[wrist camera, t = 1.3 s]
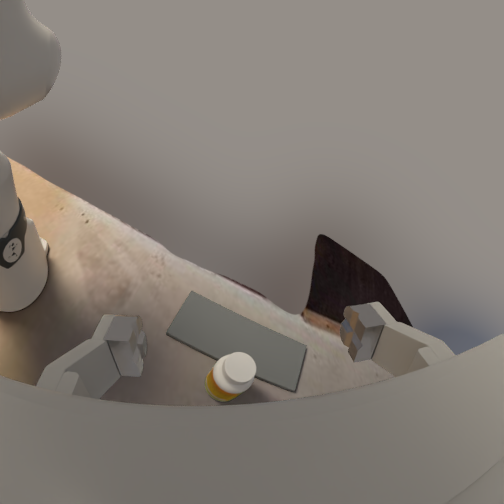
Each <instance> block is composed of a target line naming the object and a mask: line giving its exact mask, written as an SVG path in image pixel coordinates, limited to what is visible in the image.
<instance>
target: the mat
mask: <svg viewBox="0 0 504 504" xmlns="http://www.w3.org/2000/svg"><path fill="white" fill-rule="evenodd" d="M166 334H167V335H169V336H170V337H172V338H174V339H176V340H178V341H180V342H182V343H183V344H185V345H187V346H189V347H191V348H193V349H195V350H197V351H199V352H201V353H203V354H205V355H207V356H209V357H211V358H213V359H215V360H219V359H220V358H222V357H223V356H225V355H229V354H232V353H235V352H243V353H246V354H248V355H249V356H251V357H252V359H253V360H254V362H255V364H256V374H255V376H254V377H256V378H258V379H260V380H263V381H265V382H268V383H270V384H273V385H275V386H278V387H280V388H283V389H286V390H288V391H291V392H294V391H295V388H296V385H297V381H298V377H299V373H300V370H301V366H302V362H303V358H304V354H305V350H306V346H307V345H304V344H302V343H300V342H297V341H295V340H293V339H291V338H288V337H286V336H284V335H282V334H280V333H277V332H275V331H273V330H271V329H269V328H266V327H264V326H262V325H260V324H258V323H256V322H254V321H252V320H249V319H247V318H245V317H243V316H241V315H239V314H237V313H235V312H233V311H231V310H229V309H227V308H225V307H223V306H221V305H219V304H217V303H215V302H213V301H211V300H209V299H207V298H205V297H203V296H201V295H199V294H197V293H195V292H193V291H191V292H190V294H189V296H188V297H187V299H186V300H185V302H184V304H183V305H182V307H181V309H180V310H179V312H178V314H177V315H176V317H175V318H174V320H173V322H172V323H171V325H170V327H169V328H168V330H167V332H166Z"/></svg>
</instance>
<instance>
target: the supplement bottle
mask: <svg viewBox="0 0 504 504" xmlns="http://www.w3.org/2000/svg"><path fill="white" fill-rule="evenodd" d="M255 374H256V364H255V362H254V360H253V359H252V357H251V356H249V355H248V354H246V353H243V352H235V353H232V354H229V355H225V356H223V357H222V358H220V359H219V360H218V361H217V362H216V364H215V365H214V366H213V368H212V369H211V370H210V372H209V373H208V375H207V376H206V379H205V389H206V391H207V393H208V394H209V396H211V397H212V398H213V399H215V400H217V401H221V402H227V401H230V400H232V399H234V398H236V397H237V396H238V395H240V394H241V393H243V392H244V391H246V390H247V389H248V388H249V387H250V386H251V385H252V383H253V381H254V376H255Z"/></svg>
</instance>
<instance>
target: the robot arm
mask: <svg viewBox="0 0 504 504" xmlns="http://www.w3.org/2000/svg"><path fill="white" fill-rule="evenodd" d="M60 64H61V49H60V45H59V41H58V39H57V37H56V35H55V34H54V33H53V32H52V31H51V30H50V29H49V28H47V27H46V26H44V25H43V24H41V23H40V22H39V21H37V20H36V19H35V18H34V17H33V16H32V14H31V13H30V11H29V10H28V8H27V6H26V4H25V2H24V0H0V120H2V119H5V118H8V117H11V116H13V115H15V114H17V113H18V112H20V111H22V110H24V109H26V108H28V107H30V106H32V105H34V104H35V103H37V102H39V101H41V100H43V99H44V98H45V97H46V95H47V94H48V93H49V91H50V90H51V88H52V86H53V85H54V83H55V80H56V78H57V75H58V73H59V69H60ZM47 252H48V243H47V241H46V240H44V239H42V238H40V237H39V235H38V232H37V230H36V227H35V225H34V222H33V220H32V219H29V218H27V217H26V216H25V211H24V208H23V205H22V203H21V201H20V199H19V198H18V197H17V193H16V188H15V184H14V179H13V174H12V169H11V164H10V162H9V160H8V158H7V157H6V156H5V155H4V154H3V153H2V152H1V151H0V311H4V312H14V311H18V310H21V309H23V308H25V307H27V306H28V305H30V304H31V303H32V302H33V301H34V300H35V299H36V298H37V297H38V296H39V294H40V293H41V291H42V290H43V288H44V286H45V283H46V280H47V276H48V265H47V260H46V255H47ZM344 316H345V318H346V319H345V320H344V321H343V322H342V323H341V327H340V337H341V340H342V342H343V344H344V345H345V346H347V347H349V349H348V353H349V355H350V356H351V358H352V360H353V362H359V361H364V360H370V359H372V361H373V362H375V363H376V364H378V365H379V366H381V367H382V368H383V369H385V370H386V371H388V372H389V373H391V374H392V375H394V376H395V377H394V378H391V379H387V380H384V381H380V382H376V383H373V384H369V385H365V386H361V387H356V388H352V389H347V390H343V391H338V392H333V393H328V394H322V395H317V396H311V397H304V398H298V399H291V400H283V401H274V402H265V403H254V404H241V405H222V406H168V405H149V404H136V403H126V402H117V401H109V400H101V399H100V398H101V397H102V396H103V395H104V393H105V392H106V391H107V390H108V389H109V388H110V387H111V386H112V385H113V384H114V383H115V382H116V381H117V380H118V379H119V378H120V376H134V377H141V374H142V369H143V365H144V364H143V361H142V359H143V358H144V357H145V356H146V352H147V340H146V335H145V333H144V332H143V331H142V330H141V329H142V326H143V323H142V320H141V317H140V316H134V315H113V314H105V315H103V316H102V318H101V320H100V322H99V324H98V326H97V328H96V330H95V332H94V334H93V336H92V338H91V339H87V340H86V341H84V342H82V343H81V344H79V345H78V346H76V347H75V348H73V349H72V350H70V351H69V352H67V353H65V354H64V355H62V356H61V357H59V358H58V359H56V360H55V361H53V362H52V363H50V364H49V365H47V366H46V367H45V369H44V371H43V373H42V375H41V377H40V379H39V381H38V383H37V385H36V386H33V385H29V384H26V383H22V382H19V381H16V380H13V379H9V378H6V377H3V376H1V375H0V504H504V334H501V335H499V336H497V337H495V338H493V339H491V340H489V341H487V342H485V343H483V344H481V345H479V346H477V347H474V348H472V349H470V350H468V351H465V352H463V353H461V354H459V355H455V354H454V353H453V352H452V351H451V350H450V349H449V347H448V346H447V345H446V344H445V343H444V342H443V341H442V340H439V339H437V338H435V337H432V336H430V335H428V334H426V333H424V332H421V331H419V330H417V329H415V328H412V327H410V326H408V325H405V324H403V323H401V322H396V321H395V319H394V318H393V317H392V316H391V315H390V314H389V313H388V311H387V310H386V309H385V308H384V307H383V306H382V305H381V303H379V302H373V303H368V304H362V305H354V306H347V307H346V308H345V311H344Z"/></svg>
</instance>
